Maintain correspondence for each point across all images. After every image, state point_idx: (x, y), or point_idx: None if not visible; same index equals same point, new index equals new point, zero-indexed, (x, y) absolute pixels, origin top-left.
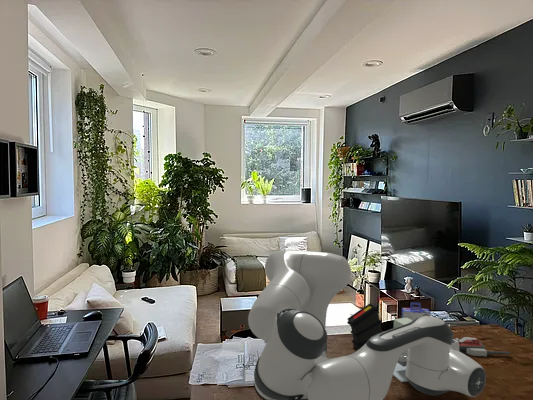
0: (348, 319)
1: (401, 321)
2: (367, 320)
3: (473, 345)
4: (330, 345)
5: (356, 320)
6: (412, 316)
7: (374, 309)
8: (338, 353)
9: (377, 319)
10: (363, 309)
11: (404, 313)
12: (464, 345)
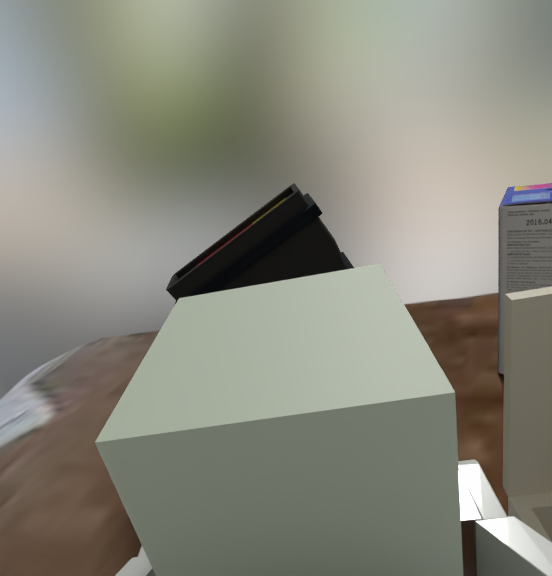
0: (172, 277)
1: (200, 342)
2: (264, 276)
3: None
4: None
5: (193, 282)
6: None
7: (299, 212)
8: None
9: (330, 265)
10: (256, 219)
11: (507, 216)
12: None
